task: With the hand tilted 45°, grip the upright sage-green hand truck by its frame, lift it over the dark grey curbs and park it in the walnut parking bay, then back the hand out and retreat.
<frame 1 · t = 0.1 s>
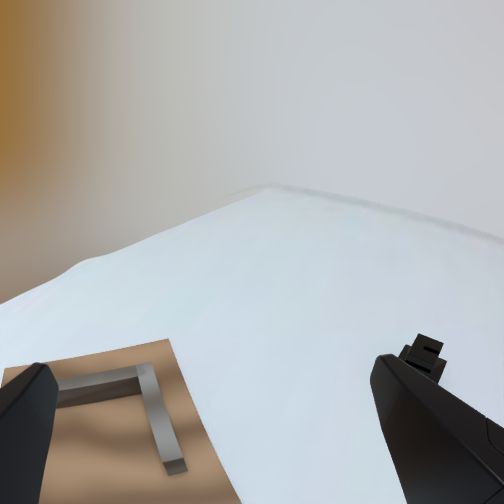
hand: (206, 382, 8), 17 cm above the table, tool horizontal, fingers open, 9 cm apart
build plate: (411, 382, 28), on the table
parking bay: (88, 450, 20), on the table
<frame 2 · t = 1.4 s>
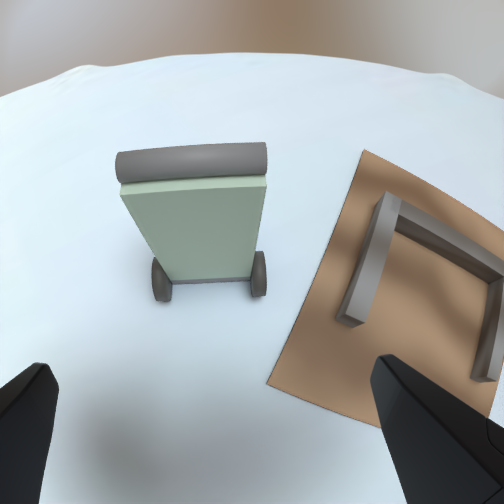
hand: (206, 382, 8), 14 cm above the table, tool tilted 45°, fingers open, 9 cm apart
hand truck: (210, 269, 23), on the table
parking bay: (429, 310, 23), on the table
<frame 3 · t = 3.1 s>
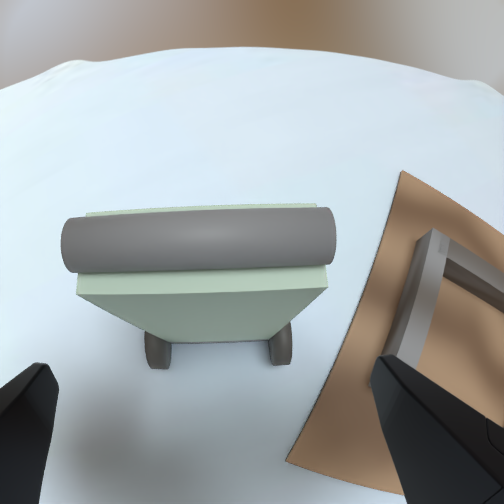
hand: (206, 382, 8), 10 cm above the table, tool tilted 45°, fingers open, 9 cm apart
hand truck: (218, 325, 18), on the table
parking bay: (468, 365, 18), on the table
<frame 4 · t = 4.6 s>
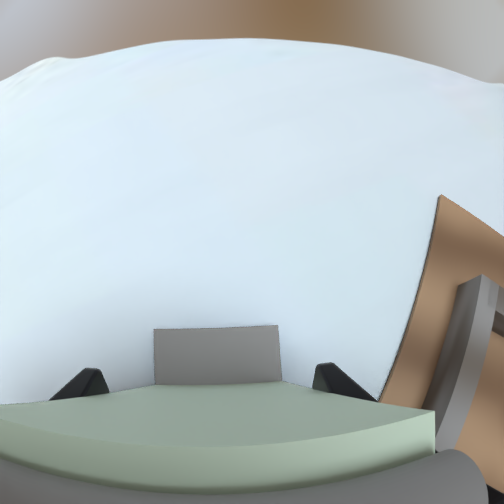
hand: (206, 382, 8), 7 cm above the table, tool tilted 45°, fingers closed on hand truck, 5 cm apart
hand truck: (220, 404, 14), on the table, touching gripper
parking bay: (502, 422, 13), on the table
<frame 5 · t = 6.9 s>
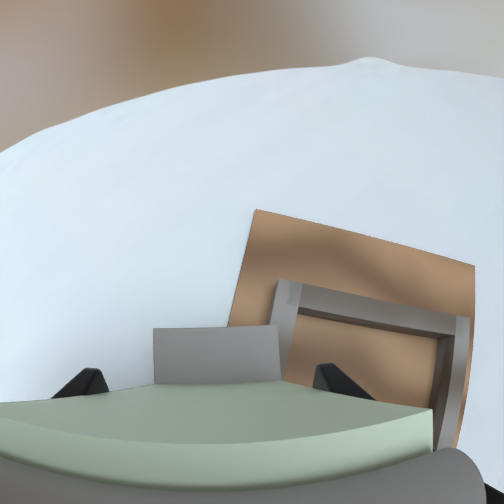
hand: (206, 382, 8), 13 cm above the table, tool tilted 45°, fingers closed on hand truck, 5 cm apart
hand truck: (219, 403, 14), point 7 cm above the table, touching gripper
parking bay: (359, 397, 20), on the table
when the fingers open (9 cm above the table, at t = 9.1 s): hand truck drops 1 cm, resting on parking bay.
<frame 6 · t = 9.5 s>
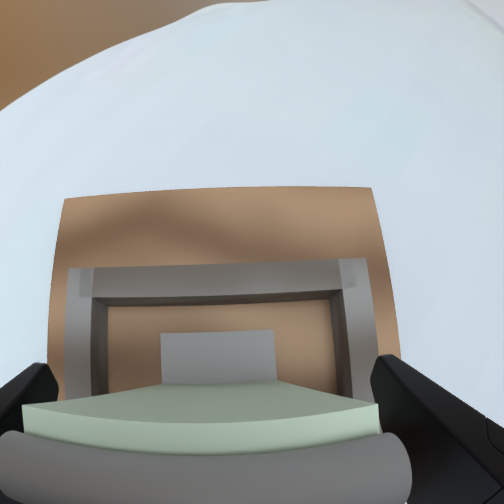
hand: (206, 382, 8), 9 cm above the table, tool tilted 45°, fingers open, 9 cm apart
hand truck: (220, 401, 15), resting on parking bay
parking bay: (221, 400, 15), on the table
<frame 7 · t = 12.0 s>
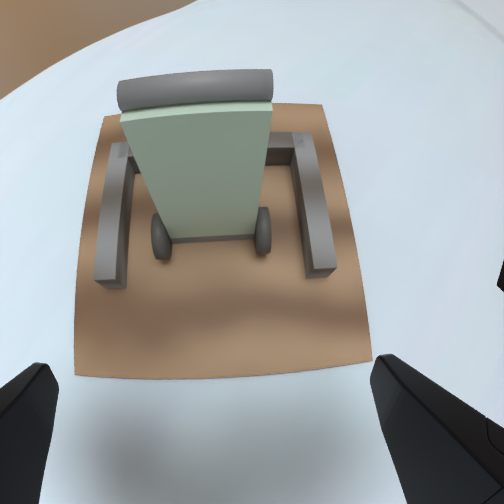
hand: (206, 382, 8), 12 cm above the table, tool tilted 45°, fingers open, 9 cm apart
hand truck: (212, 228, 22), resting on parking bay
parking bay: (213, 229, 23), on the table
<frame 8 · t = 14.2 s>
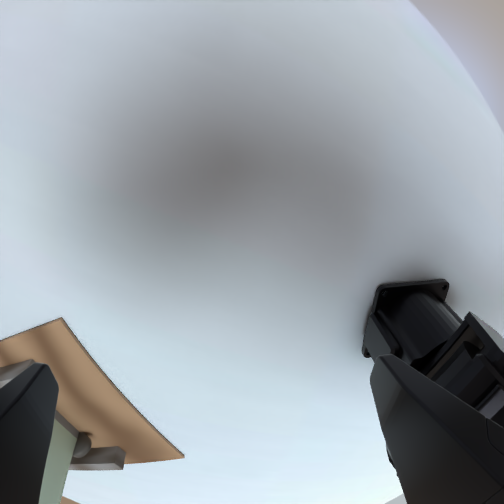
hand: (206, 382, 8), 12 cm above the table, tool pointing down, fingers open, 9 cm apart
hand truck: (56, 416, 25), resting on parking bay
parking bay: (57, 414, 25), on the table
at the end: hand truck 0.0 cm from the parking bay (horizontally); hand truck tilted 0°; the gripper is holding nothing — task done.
